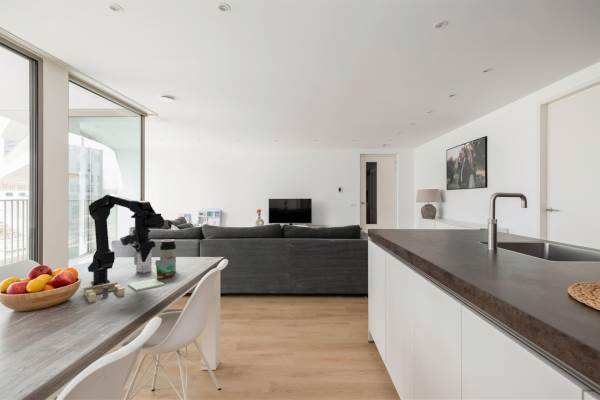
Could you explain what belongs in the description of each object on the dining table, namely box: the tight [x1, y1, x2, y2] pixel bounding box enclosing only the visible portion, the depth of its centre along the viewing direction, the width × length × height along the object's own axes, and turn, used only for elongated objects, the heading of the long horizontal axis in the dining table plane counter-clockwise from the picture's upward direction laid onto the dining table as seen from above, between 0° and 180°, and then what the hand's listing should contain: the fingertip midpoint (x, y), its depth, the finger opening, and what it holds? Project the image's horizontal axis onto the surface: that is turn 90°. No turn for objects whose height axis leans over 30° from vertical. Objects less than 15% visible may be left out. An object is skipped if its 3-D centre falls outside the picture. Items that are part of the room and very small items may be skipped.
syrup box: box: [135, 248, 153, 274], centre depth 158 cm, size 6×6×14 cm
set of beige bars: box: [83, 281, 125, 303], centre depth 119 cm, size 13×12×4 cm
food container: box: [154, 256, 177, 280], centre depth 146 cm, size 12×6×10 cm, turn 168°
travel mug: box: [159, 238, 177, 273], centre depth 157 cm, size 8×8×18 cm
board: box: [127, 278, 165, 292], centre depth 132 cm, size 12×12×1 cm
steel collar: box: [133, 250, 149, 266], centre depth 130 cm, size 5×5×6 cm
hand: (141, 261), depth 130 cm, fingers closed on steel collar, 5 cm apart
